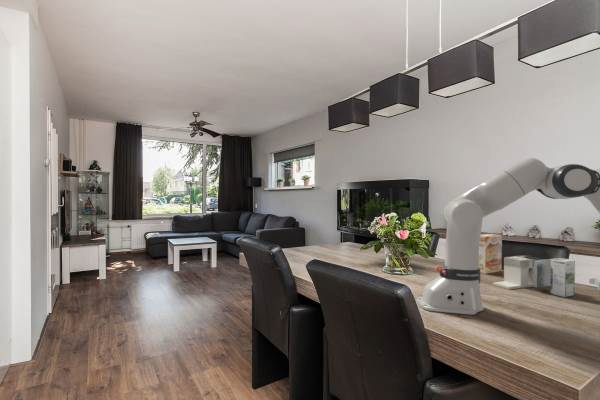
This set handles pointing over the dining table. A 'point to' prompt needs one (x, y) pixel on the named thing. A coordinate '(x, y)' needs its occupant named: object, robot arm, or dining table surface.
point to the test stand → (517, 273)
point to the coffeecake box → (490, 253)
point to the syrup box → (562, 277)
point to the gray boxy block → (541, 271)
